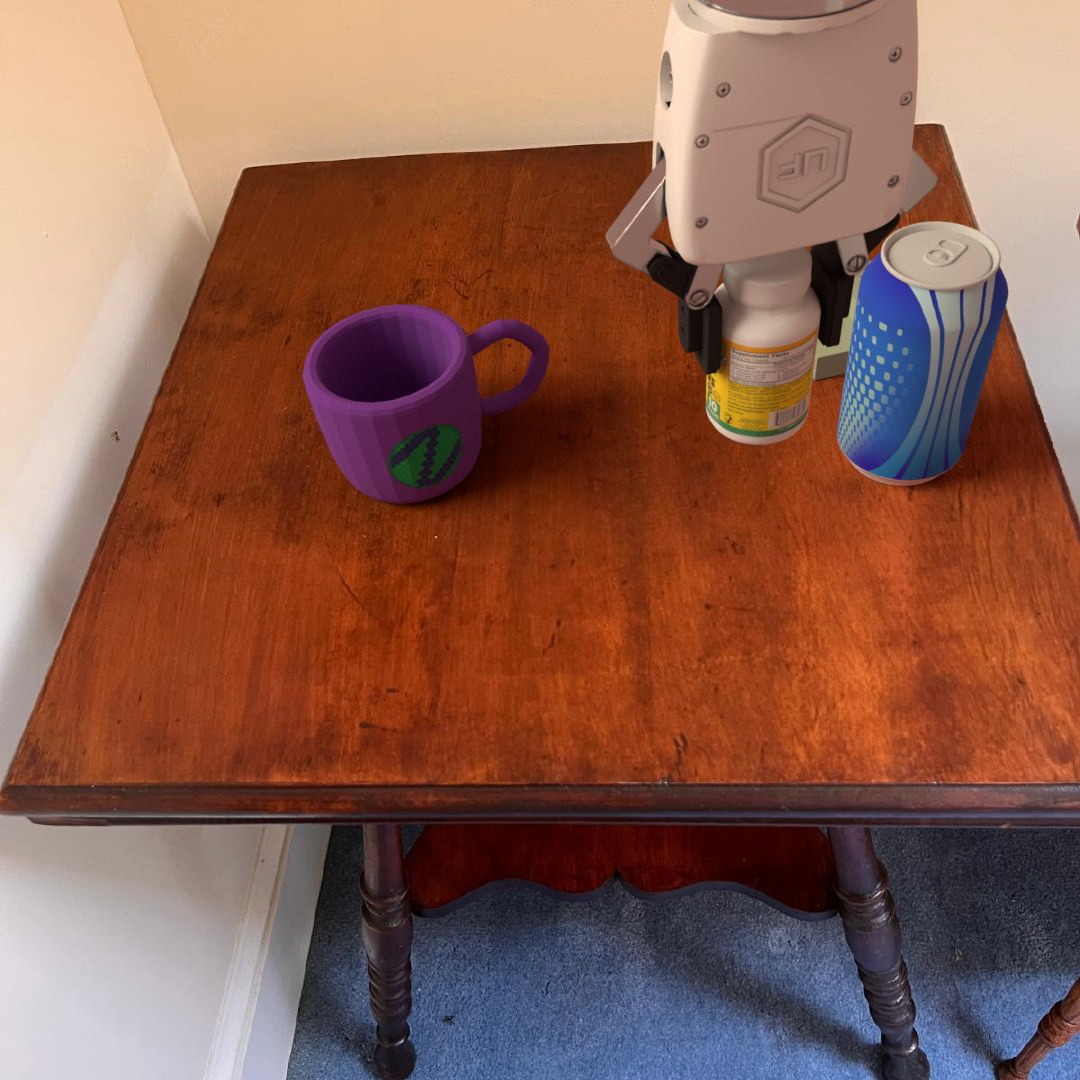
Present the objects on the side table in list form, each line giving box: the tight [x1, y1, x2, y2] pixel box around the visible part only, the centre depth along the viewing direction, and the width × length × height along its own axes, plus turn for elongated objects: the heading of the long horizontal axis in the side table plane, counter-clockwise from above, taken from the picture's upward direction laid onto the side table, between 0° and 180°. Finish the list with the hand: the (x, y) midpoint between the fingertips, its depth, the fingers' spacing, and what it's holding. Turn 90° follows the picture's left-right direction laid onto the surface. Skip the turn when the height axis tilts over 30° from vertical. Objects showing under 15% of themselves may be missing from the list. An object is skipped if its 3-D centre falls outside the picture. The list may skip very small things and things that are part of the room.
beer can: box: [836, 221, 1009, 487], centre depth 66 cm, size 8×8×16 cm
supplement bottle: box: [705, 247, 821, 446], centre depth 51 cm, size 5×5×10 cm
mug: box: [302, 303, 550, 505], centre depth 73 cm, size 17×11×10 cm, turn 116°
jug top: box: [812, 260, 872, 381], centre depth 79 cm, size 11×8×4 cm
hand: (761, 340), depth 51 cm, fingers closed on supplement bottle, 5 cm apart
